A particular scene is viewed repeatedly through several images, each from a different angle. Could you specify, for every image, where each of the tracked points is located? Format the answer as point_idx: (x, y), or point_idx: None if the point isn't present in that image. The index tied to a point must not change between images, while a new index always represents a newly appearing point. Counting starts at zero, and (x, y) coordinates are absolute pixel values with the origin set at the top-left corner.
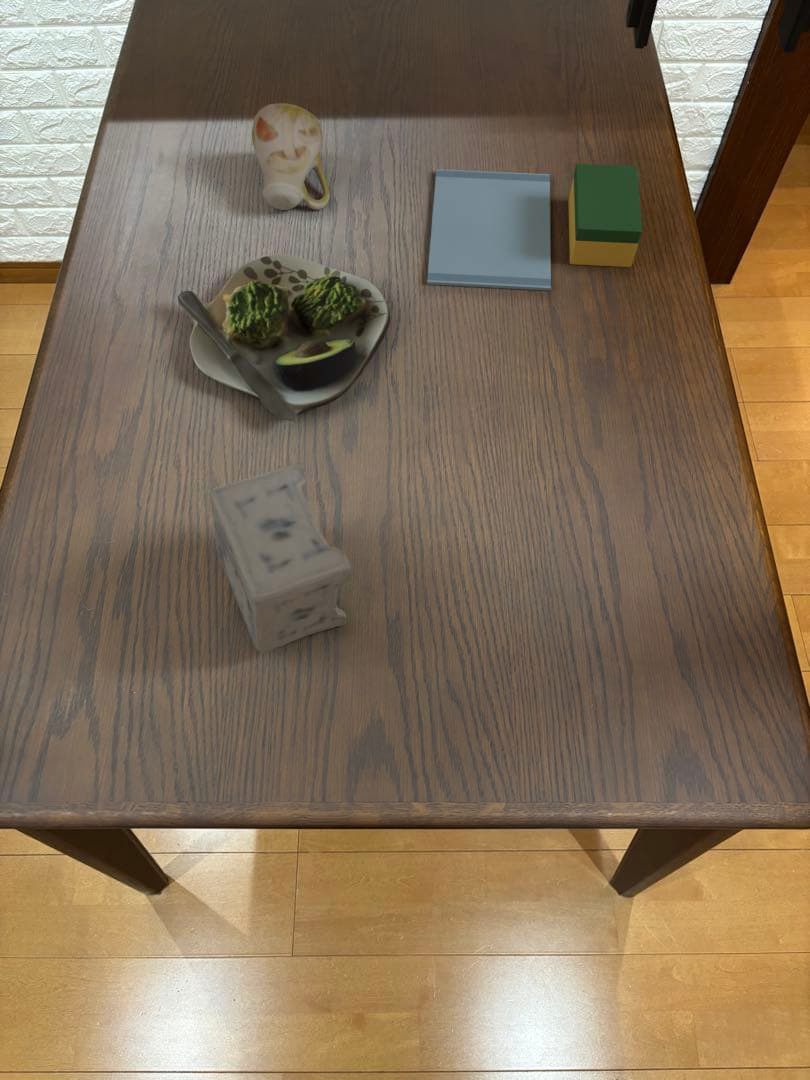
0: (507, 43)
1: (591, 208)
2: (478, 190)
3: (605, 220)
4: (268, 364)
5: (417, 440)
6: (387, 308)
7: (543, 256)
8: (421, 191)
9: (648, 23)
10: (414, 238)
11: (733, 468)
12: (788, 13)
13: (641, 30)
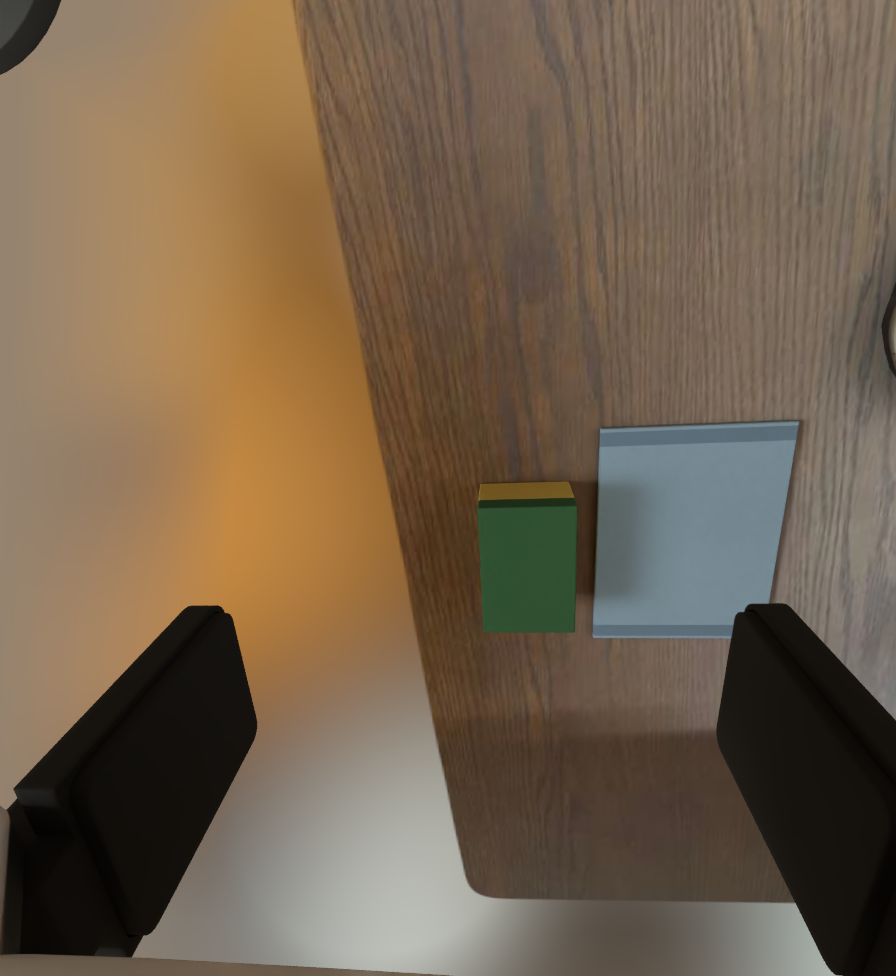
0: (639, 848)
1: (554, 547)
2: (701, 603)
3: (533, 526)
4: None
5: (847, 69)
6: (892, 338)
7: (609, 488)
8: (786, 599)
9: (809, 668)
10: (807, 510)
11: (326, 104)
12: (206, 744)
13: (817, 646)
